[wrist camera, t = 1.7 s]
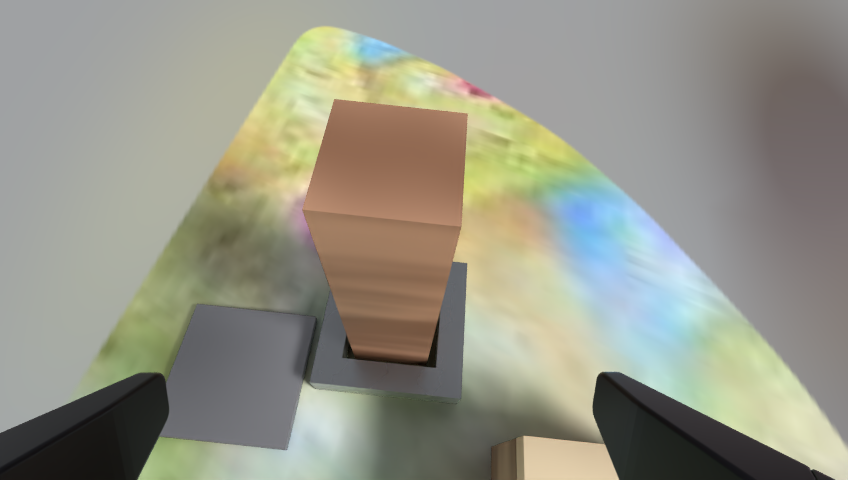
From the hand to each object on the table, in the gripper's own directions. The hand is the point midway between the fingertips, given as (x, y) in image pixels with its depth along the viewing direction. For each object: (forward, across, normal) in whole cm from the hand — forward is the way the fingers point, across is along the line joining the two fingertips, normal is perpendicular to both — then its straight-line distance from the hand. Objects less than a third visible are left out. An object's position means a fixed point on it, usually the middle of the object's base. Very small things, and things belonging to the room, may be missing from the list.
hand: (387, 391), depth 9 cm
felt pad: (+10, +7, +6) cm, 14 cm away
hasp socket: (+12, 0, +5) cm, 13 cm away
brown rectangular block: (+12, 0, +5) cm, 13 cm away
